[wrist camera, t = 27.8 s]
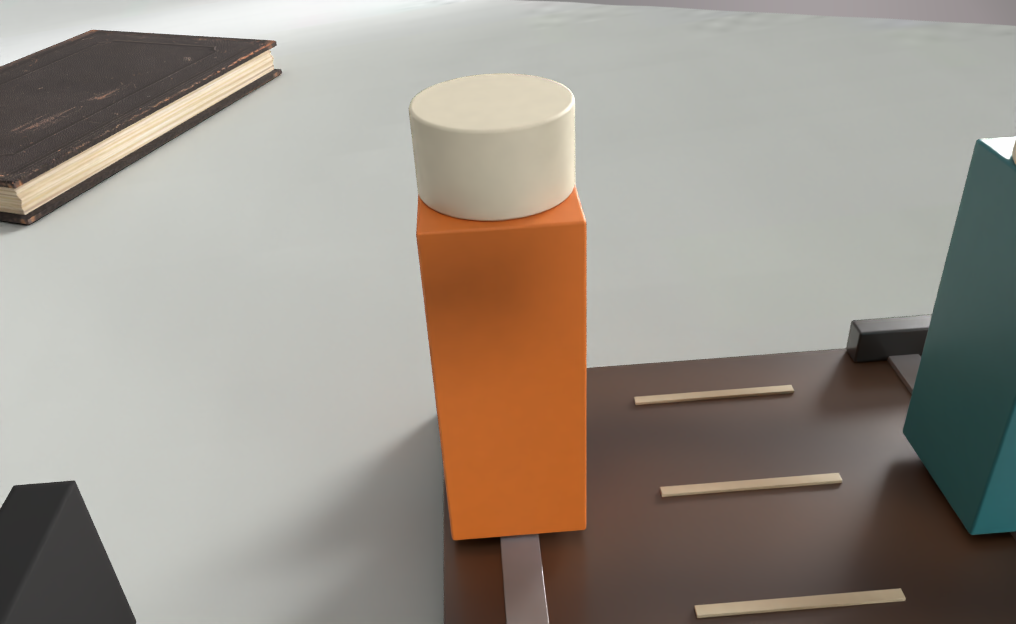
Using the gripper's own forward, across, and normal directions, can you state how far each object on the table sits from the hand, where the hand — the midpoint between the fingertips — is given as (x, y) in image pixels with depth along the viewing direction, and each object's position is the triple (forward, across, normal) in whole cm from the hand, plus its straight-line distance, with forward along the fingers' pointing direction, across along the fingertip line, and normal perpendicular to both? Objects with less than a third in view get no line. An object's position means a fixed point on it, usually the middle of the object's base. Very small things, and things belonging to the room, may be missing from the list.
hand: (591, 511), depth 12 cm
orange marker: (+10, -1, -9) cm, 13 cm away
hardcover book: (+45, -26, -10) cm, 53 cm away
